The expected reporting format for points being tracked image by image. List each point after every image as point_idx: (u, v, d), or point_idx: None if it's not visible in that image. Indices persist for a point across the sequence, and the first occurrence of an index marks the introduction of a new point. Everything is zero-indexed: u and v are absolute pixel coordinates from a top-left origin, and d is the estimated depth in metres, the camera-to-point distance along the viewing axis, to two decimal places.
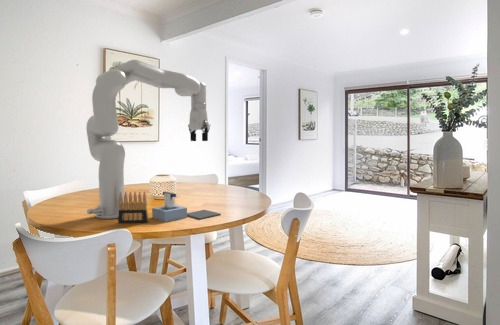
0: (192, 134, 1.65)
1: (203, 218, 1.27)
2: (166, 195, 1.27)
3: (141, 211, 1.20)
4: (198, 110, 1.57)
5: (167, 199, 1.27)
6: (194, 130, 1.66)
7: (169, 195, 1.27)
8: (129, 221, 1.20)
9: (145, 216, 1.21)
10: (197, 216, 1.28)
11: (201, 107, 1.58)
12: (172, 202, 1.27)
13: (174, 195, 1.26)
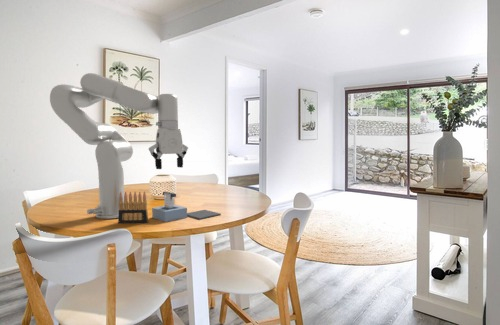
0: None
1: (203, 218, 1.27)
2: (166, 195, 1.27)
3: (141, 211, 1.20)
4: (178, 130, 1.27)
5: (167, 199, 1.27)
6: (157, 155, 1.24)
7: (169, 195, 1.27)
8: (129, 221, 1.20)
9: (145, 216, 1.21)
10: (197, 216, 1.28)
11: None
12: (172, 202, 1.27)
13: (174, 195, 1.26)
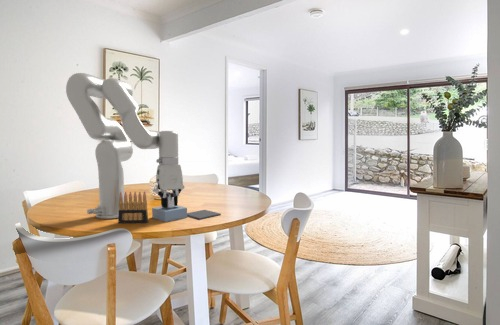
0: None
1: (203, 218, 1.27)
2: (166, 195, 1.27)
3: (141, 211, 1.20)
4: (178, 166, 1.28)
5: (167, 199, 1.27)
6: (161, 193, 1.27)
7: (169, 195, 1.27)
8: (129, 221, 1.20)
9: (145, 216, 1.21)
10: (197, 216, 1.28)
11: None
12: (172, 202, 1.27)
13: (174, 195, 1.26)
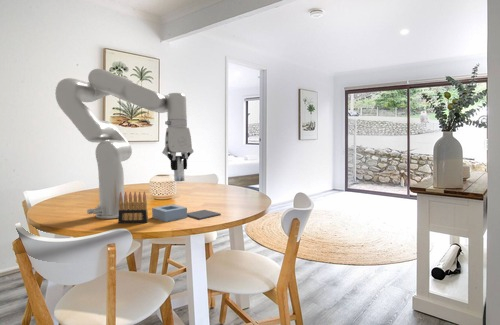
0: None
1: (203, 218, 1.27)
2: (175, 158, 1.27)
3: (141, 211, 1.20)
4: (187, 129, 1.28)
5: None
6: None
7: (178, 157, 1.27)
8: (129, 221, 1.20)
9: (145, 216, 1.21)
10: (197, 216, 1.28)
11: None
12: (181, 165, 1.27)
13: (183, 157, 1.26)
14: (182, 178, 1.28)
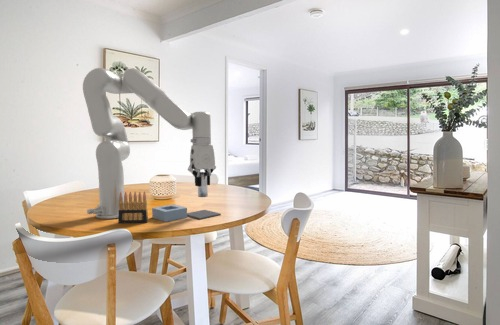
0: None
1: (203, 218, 1.27)
2: (200, 174, 1.31)
3: (141, 211, 1.20)
4: (211, 146, 1.32)
5: (201, 178, 1.30)
6: None
7: (202, 174, 1.30)
8: (129, 221, 1.20)
9: (145, 216, 1.21)
10: (197, 216, 1.28)
11: None
12: (205, 181, 1.31)
13: (208, 174, 1.29)
14: (206, 194, 1.32)
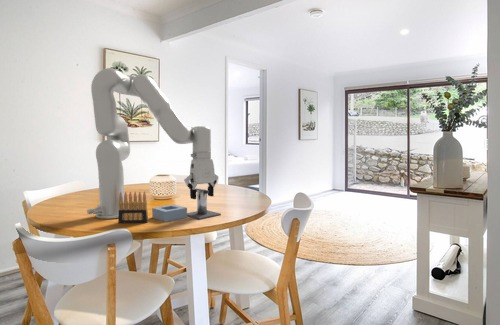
0: None
1: (203, 218, 1.27)
2: (199, 192, 1.31)
3: (141, 211, 1.20)
4: (211, 160, 1.32)
5: (200, 196, 1.31)
6: (191, 185, 1.30)
7: (202, 192, 1.31)
8: (129, 221, 1.20)
9: (145, 216, 1.21)
10: (197, 216, 1.28)
11: None
12: (205, 198, 1.32)
13: (207, 192, 1.30)
14: (205, 211, 1.32)
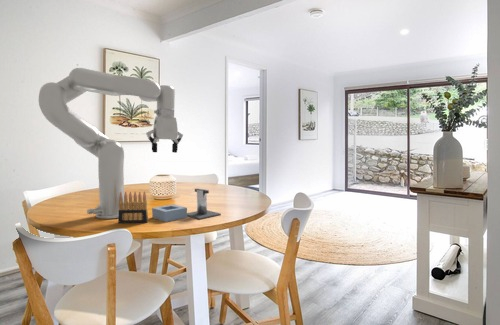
0: None
1: (203, 218, 1.27)
2: (199, 192, 1.31)
3: (141, 211, 1.20)
4: (174, 118, 1.41)
5: (200, 196, 1.31)
6: None
7: (202, 192, 1.31)
8: (129, 221, 1.20)
9: (145, 216, 1.21)
10: (197, 216, 1.28)
11: None
12: (205, 198, 1.32)
13: (207, 191, 1.30)
14: (205, 211, 1.32)
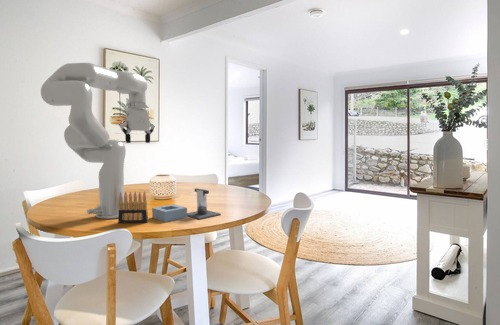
0: None
1: (203, 218, 1.27)
2: (199, 192, 1.31)
3: (141, 211, 1.20)
4: (145, 110, 1.51)
5: (200, 196, 1.31)
6: None
7: (202, 192, 1.31)
8: (129, 221, 1.20)
9: (145, 216, 1.21)
10: (197, 216, 1.28)
11: None
12: (205, 198, 1.32)
13: (207, 192, 1.30)
14: (205, 211, 1.32)
